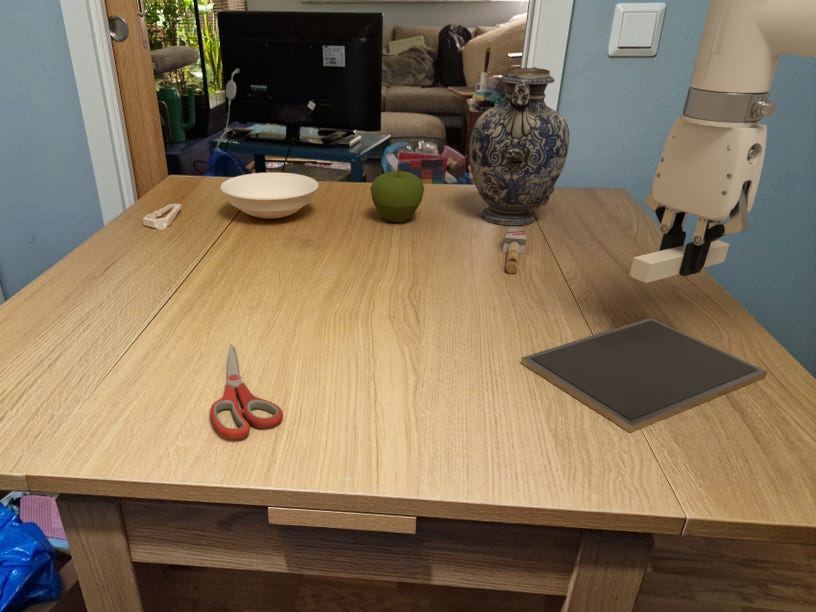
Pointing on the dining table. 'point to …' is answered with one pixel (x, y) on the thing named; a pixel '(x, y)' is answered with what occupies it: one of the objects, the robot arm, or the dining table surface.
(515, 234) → the paintbrush
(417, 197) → the apple
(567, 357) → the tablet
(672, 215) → the robot arm
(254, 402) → the scissors
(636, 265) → the beige rectangular block
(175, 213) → the stepped key frame
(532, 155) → the decorative vase
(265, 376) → the dining table surface
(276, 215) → the bowl
